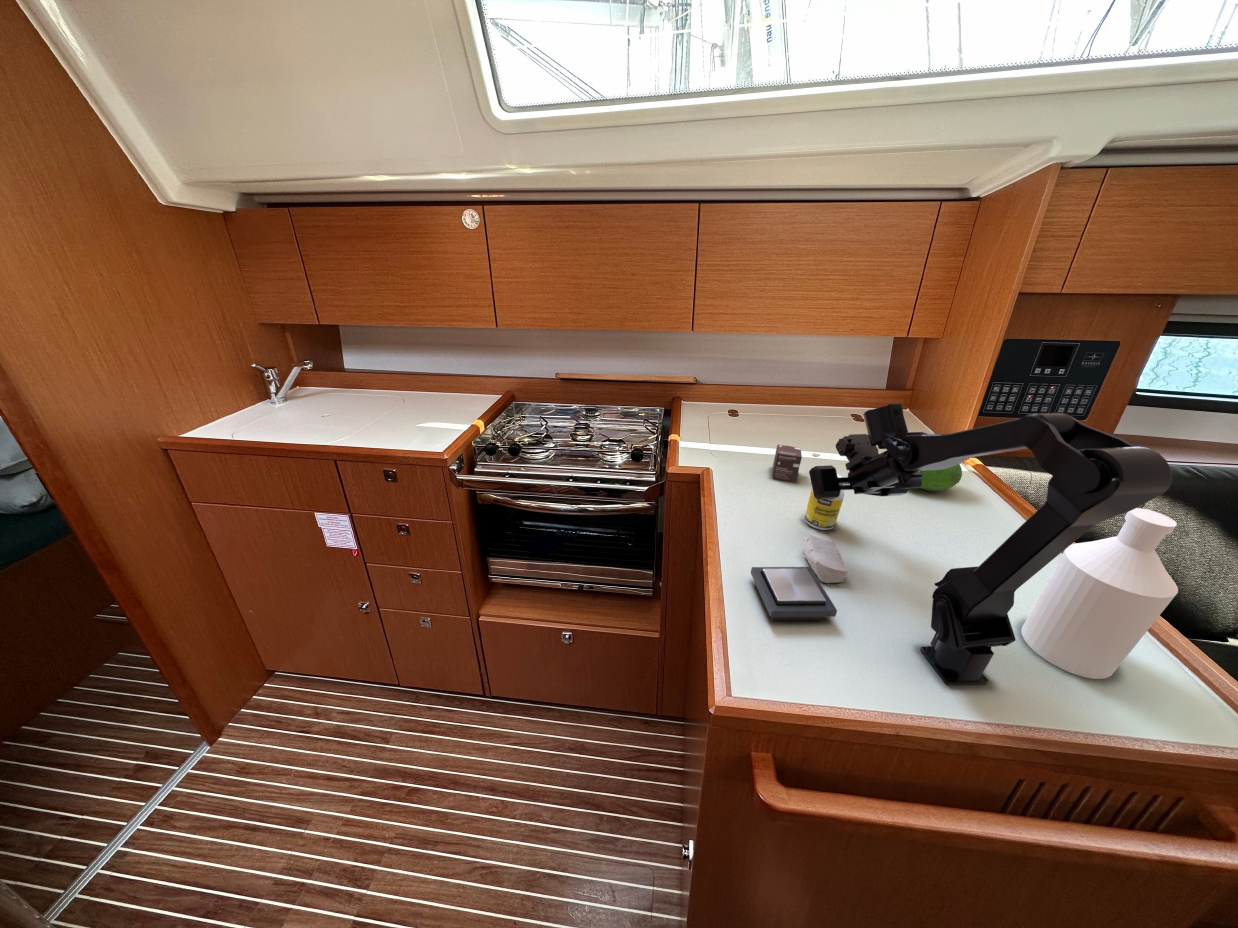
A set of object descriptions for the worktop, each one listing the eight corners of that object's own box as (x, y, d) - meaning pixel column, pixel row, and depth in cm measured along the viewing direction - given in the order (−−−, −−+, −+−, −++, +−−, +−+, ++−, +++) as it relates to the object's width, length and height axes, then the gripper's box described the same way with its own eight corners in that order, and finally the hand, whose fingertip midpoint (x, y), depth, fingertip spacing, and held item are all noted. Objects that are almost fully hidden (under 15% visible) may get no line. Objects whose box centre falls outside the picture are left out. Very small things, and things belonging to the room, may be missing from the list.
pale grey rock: (832, 595, 89) (851, 581, 84) (801, 585, 88) (819, 570, 84) (827, 552, 96) (844, 536, 91) (798, 542, 95) (814, 526, 91)
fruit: (899, 495, 117) (912, 459, 112) (883, 476, 125) (894, 442, 121) (962, 500, 116) (978, 464, 111) (942, 480, 124) (955, 446, 120)
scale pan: (824, 606, 78) (826, 600, 77) (776, 606, 77) (778, 600, 77) (804, 574, 85) (806, 568, 84) (761, 574, 84) (762, 568, 84)
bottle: (1003, 632, 77) (1076, 503, 66) (1044, 612, 82) (1119, 488, 70) (1090, 691, 68) (1193, 552, 56) (1132, 665, 72) (1235, 531, 61)
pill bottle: (801, 525, 103) (813, 479, 98) (806, 511, 108) (817, 467, 103) (833, 534, 100) (847, 487, 95) (836, 519, 106) (849, 474, 100)
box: (771, 478, 122) (777, 453, 119) (771, 468, 127) (777, 443, 124) (796, 482, 120) (802, 457, 117) (795, 472, 126) (801, 447, 122)
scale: (832, 624, 78) (837, 610, 76) (768, 624, 77) (771, 611, 76) (806, 579, 87) (810, 566, 86) (748, 579, 87) (751, 566, 85)
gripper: (918, 426, 87) (865, 453, 102) (826, 429, 85) (785, 456, 99) (935, 484, 84) (878, 503, 99) (839, 489, 81) (795, 508, 96)
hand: (834, 491), depth 98 cm, fingers open, 9 cm apart
